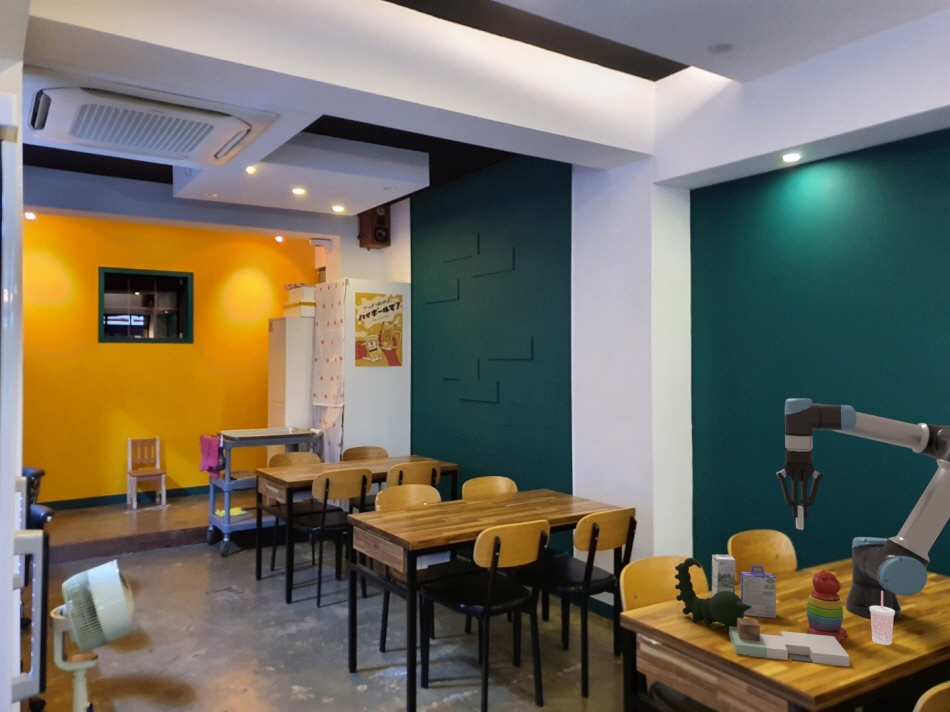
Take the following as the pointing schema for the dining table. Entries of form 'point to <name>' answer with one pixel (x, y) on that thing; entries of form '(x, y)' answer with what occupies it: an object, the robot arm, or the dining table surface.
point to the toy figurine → (708, 601)
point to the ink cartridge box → (759, 592)
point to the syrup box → (723, 573)
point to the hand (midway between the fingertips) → (799, 528)
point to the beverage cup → (882, 623)
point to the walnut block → (748, 629)
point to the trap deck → (792, 647)
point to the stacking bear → (825, 607)
